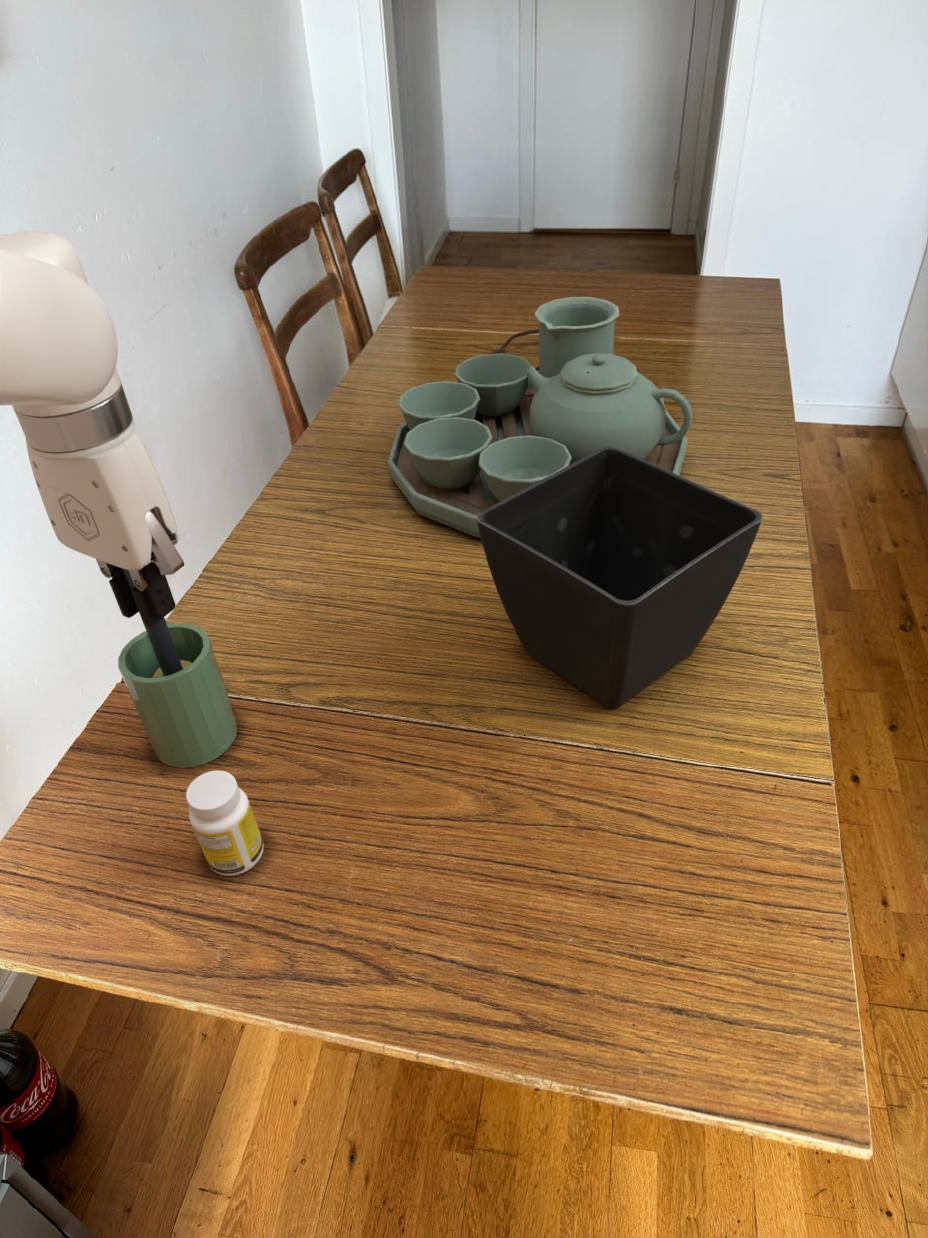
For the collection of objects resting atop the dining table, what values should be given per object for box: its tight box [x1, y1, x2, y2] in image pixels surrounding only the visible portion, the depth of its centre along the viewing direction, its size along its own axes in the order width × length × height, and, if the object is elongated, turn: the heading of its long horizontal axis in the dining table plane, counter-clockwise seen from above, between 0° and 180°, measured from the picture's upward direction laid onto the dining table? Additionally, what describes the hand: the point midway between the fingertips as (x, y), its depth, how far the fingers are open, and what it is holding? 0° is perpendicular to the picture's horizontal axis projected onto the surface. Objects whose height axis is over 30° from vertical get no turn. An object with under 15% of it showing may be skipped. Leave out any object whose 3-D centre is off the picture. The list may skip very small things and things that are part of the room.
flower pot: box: [476, 446, 763, 709], centre depth 86 cm, size 19×19×17 cm
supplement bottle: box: [185, 769, 264, 877], centre depth 73 cm, size 5×5×8 cm
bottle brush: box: [122, 565, 192, 678], centre depth 79 cm, size 4×4×19 cm
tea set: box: [387, 296, 693, 538], centre depth 117 cm, size 40×40×16 cm
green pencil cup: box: [117, 622, 238, 769], centre depth 83 cm, size 8×8×11 cm
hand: (149, 611), depth 77 cm, fingers closed on bottle brush
